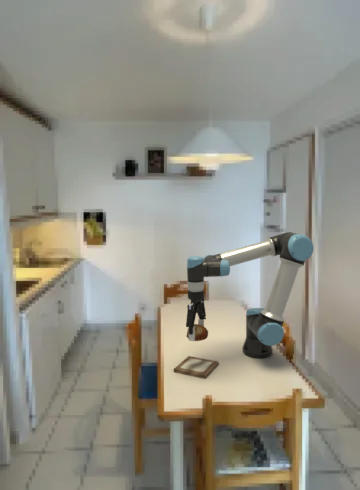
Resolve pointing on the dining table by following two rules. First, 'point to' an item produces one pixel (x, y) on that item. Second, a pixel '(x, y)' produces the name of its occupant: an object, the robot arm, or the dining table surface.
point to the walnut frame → (196, 367)
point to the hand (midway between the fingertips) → (196, 336)
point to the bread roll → (199, 332)
